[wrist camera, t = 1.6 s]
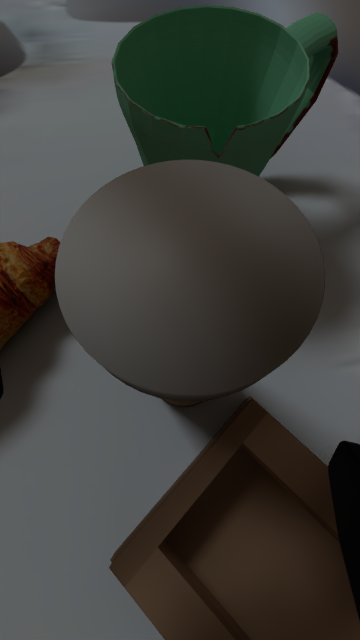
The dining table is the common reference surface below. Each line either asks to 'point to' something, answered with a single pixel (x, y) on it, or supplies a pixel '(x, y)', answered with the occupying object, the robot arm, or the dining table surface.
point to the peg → (189, 279)
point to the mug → (220, 83)
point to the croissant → (24, 282)
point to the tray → (243, 543)
